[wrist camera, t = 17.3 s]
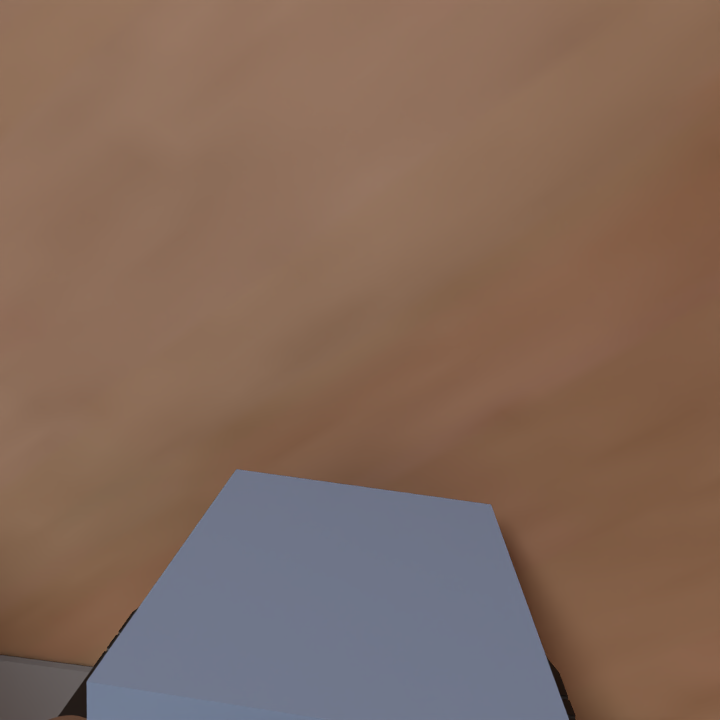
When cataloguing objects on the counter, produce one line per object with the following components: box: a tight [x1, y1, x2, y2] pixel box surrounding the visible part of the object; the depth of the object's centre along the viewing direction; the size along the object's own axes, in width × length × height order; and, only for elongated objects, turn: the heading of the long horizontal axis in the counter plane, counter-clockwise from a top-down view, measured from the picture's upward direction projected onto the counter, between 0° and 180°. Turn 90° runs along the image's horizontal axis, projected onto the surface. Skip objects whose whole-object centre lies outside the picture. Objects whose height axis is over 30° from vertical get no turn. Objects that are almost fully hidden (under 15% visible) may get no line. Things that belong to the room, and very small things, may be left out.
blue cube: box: [87, 469, 569, 720], centre depth 10 cm, size 6×6×6 cm
